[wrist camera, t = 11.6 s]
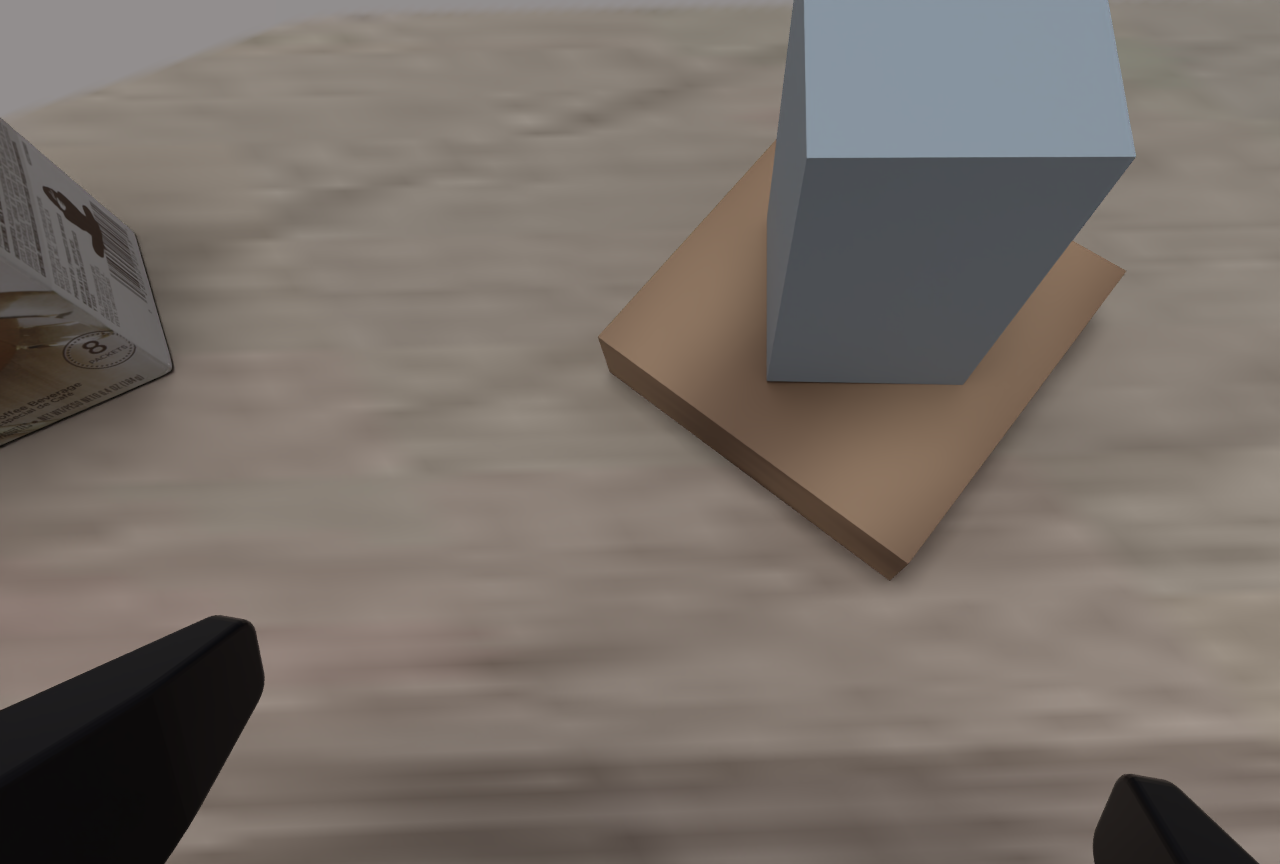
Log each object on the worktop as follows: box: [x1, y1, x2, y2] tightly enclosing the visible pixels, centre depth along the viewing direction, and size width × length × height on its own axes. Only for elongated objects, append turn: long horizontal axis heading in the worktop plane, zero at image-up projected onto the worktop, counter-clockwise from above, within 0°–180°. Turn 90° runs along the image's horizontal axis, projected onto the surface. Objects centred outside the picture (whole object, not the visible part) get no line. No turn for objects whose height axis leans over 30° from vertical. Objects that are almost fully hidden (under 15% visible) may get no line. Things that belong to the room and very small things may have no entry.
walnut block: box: [598, 139, 1126, 581], centre depth 24 cm, size 10×10×3 cm
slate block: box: [767, 0, 1136, 385], centre depth 18 cm, size 5×5×9 cm
